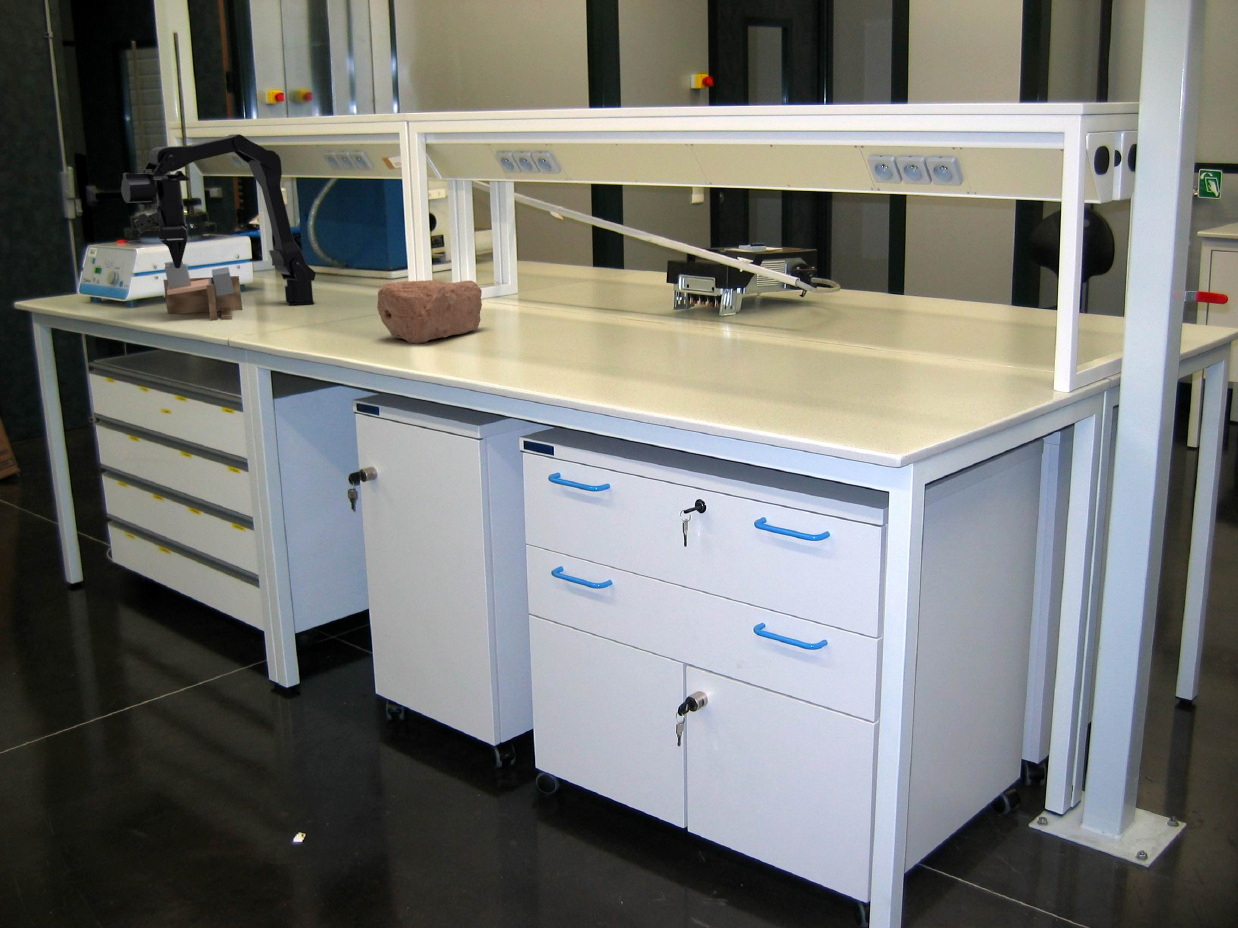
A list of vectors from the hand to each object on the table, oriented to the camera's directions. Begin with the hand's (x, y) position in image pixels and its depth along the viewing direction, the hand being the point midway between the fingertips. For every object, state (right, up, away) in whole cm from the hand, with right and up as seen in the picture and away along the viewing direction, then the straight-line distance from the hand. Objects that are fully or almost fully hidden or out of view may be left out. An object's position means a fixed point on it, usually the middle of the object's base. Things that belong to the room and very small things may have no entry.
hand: (178, 266), depth 277 cm
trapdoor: (+5, -6, +4) cm, 9 cm away
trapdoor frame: (+5, -11, +5) cm, 13 cm away
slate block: (0, -5, +1) cm, 5 cm away
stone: (+68, -20, -26) cm, 75 cm away
